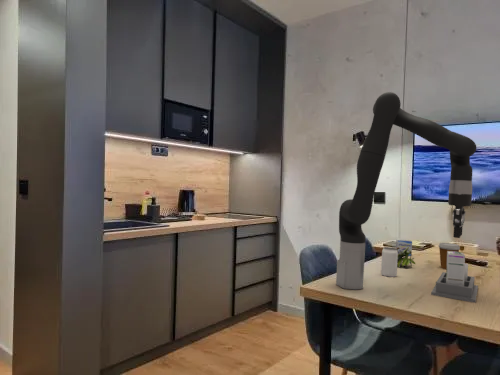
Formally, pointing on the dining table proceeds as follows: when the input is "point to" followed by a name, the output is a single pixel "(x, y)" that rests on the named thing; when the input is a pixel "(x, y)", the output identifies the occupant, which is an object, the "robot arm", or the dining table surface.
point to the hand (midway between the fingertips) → (457, 236)
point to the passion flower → (405, 258)
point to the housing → (456, 288)
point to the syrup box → (455, 268)
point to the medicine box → (404, 245)
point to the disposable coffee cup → (443, 252)
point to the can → (389, 262)
